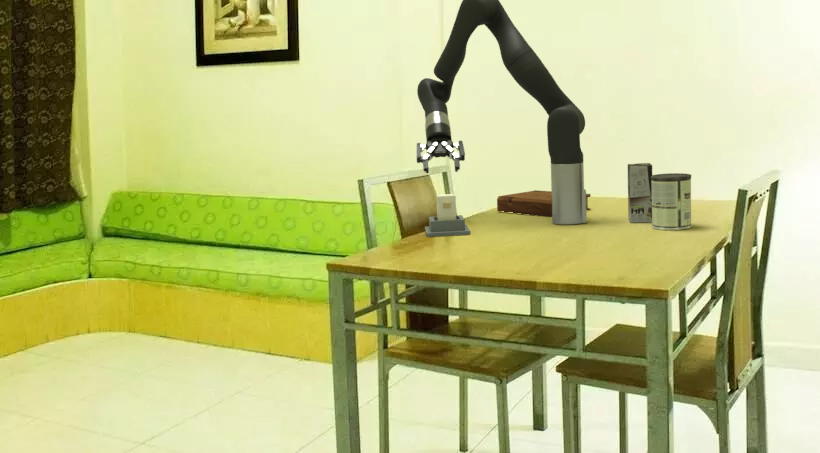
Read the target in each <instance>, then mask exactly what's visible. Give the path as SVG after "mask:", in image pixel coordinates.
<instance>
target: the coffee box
mask: <svg viewBox="0 0 820 453" xmlns="http://www.w3.org/2000/svg"><path fill="white" fill-rule="evenodd" d="M652 175H653V165H652V164H651V163H650V162H643V163H642V162H641V163H628V164H627V204H628V206H627V211H628V215H627V216H628V218H627V219H628V221H629V222H630V223H632V224H633V223H634V224H635V223H652V184H651V176H652Z"/></svg>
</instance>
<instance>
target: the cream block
mask: <svg viewBox="0 0 820 453" xmlns="http://www.w3.org/2000/svg"><path fill="white" fill-rule="evenodd" d="M435 196H436V198H435V199H436V215H437V216H436V217H437V219H438V220H456V215H457V203H456V195H455V193H448V194H447V193H446V194H445V193H444V194H435Z"/></svg>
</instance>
